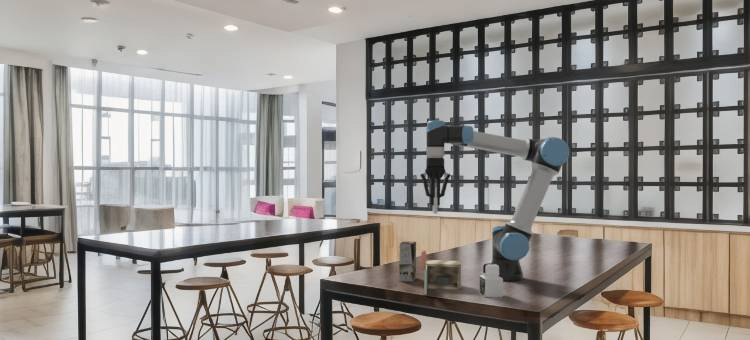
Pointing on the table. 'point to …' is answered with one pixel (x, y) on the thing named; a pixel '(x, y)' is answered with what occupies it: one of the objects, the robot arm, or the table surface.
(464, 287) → the table surface
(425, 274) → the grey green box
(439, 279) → the cartridge
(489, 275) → the medicine bottle
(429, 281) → the cubby
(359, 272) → the table surface
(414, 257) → the coffee box
